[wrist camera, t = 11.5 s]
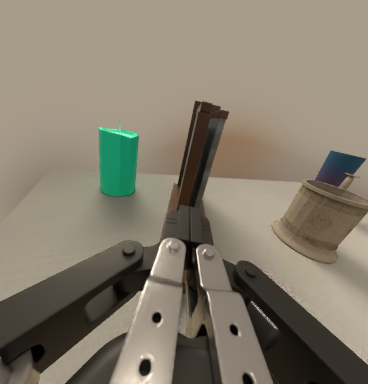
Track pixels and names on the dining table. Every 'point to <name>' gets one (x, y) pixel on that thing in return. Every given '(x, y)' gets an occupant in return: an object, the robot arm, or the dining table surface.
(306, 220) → the mug
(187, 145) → the screen frame
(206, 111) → the glass door
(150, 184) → the dining table surface
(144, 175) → the dining table surface
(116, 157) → the candle
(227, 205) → the dining table surface
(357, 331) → the dining table surface
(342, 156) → the cup
